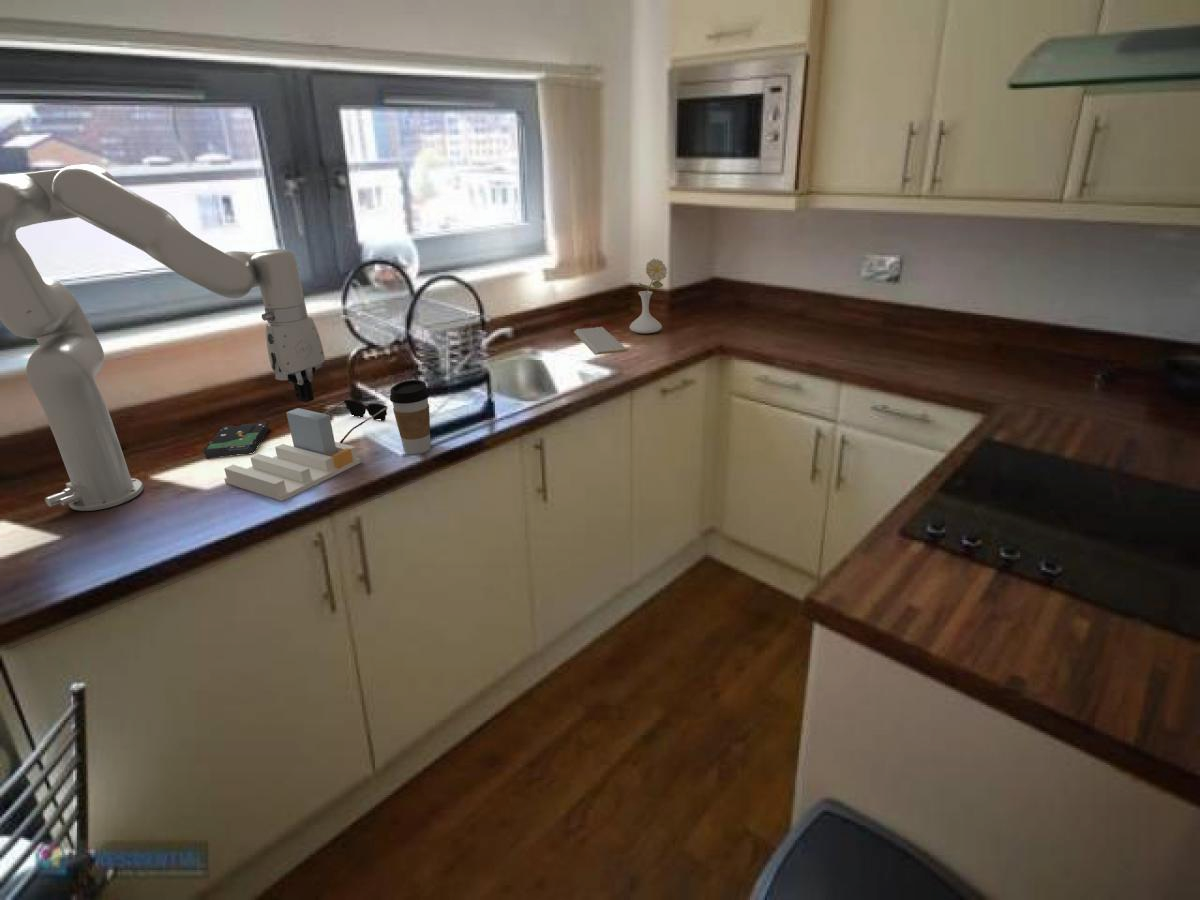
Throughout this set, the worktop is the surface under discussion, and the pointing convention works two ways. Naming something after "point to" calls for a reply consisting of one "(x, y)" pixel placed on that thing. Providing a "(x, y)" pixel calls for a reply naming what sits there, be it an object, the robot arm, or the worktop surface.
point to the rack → (290, 470)
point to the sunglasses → (363, 411)
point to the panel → (311, 431)
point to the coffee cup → (412, 415)
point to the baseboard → (599, 340)
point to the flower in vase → (645, 320)
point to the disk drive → (236, 440)
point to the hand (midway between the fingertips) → (306, 400)
